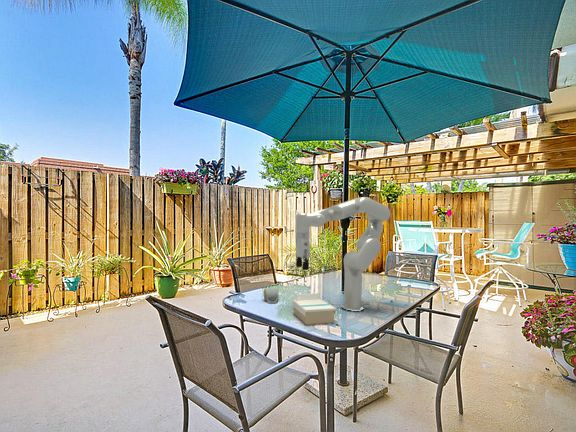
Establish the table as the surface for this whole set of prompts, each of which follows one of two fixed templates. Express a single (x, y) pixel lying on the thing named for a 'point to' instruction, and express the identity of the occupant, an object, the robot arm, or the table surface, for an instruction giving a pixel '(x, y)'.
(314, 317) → the mailer box
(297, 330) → the table surface
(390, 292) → the table surface
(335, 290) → the table surface
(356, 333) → the table surface
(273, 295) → the ceramic mug
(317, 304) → the lid
